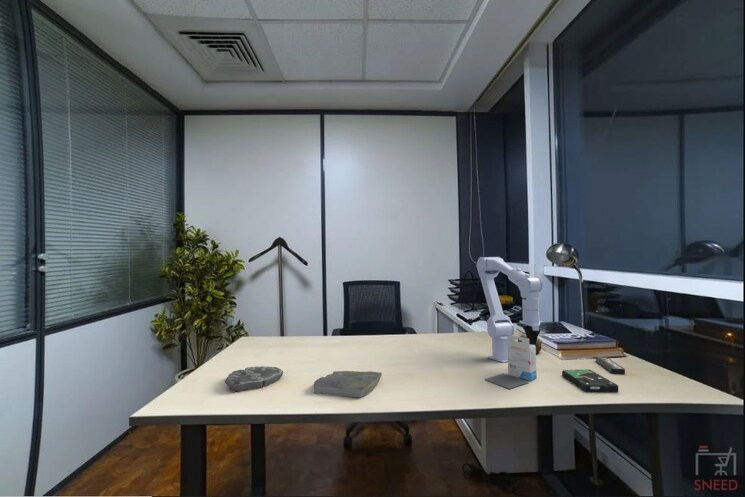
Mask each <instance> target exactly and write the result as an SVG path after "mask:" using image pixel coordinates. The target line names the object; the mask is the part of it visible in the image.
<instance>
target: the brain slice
mask: <svg viewBox="0 0 745 497" xmlns="http://www.w3.org/2000/svg"><path fill="white" fill-rule="evenodd" d="M283 374H284V371H283V369H281V368H279V367H276V366H263V365H262V366H258V365H257V366H250V367H245V368H244V369H238V370H234V371H232V372H231V373H229V374H228V375H227V377H226V378H225V380H224V382H225V384H226V386H227V387H229V388H230V389H231V391H233V392H245V391H252V390H257V389H261V388H265V387H268V386H270V385H272V384H274V383H276V382H278V381H280V379H281V378H282V376H283Z"/></svg>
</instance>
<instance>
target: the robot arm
mask: <svg viewBox="0 0 745 497" xmlns="http://www.w3.org/2000/svg"><path fill="white" fill-rule="evenodd" d="M475 266H476V269H477V274H478V276H479V278H480V281H481V282H480V283H481V286H482V288H483V293H484V296H485V300H486V303H487V307H488V311H489V313H490V314H489V318H487V320H486V326H487V328H486V329H487V334H488V336H490V338H491V345H492V346H491V349H492V350H491V351H492V352H491V353H492V354H491V355H489V356H487V358H488V359H491V360H494V361H497V362H501V363H503V364H504V363H508V348H507V343H508V337H507V336H508V335H511V336H514V334H515V326H514V324H513V323H512V321H511V318H510V316H508V315H506V314H505V313H504V311H503V306H502V303H501V300H500V297H499V294H498V290H497V286H496V284H495V278H496V277H498V275H499V273H500V272H501V273H503V274H504V275H506V276H507V278H508V280H509V281H510V282H512V283H513V284H515V285H516V286H517V287H518V290H519V291H520V297H521V298H522V300H521V301H522V320H519V324H523V326H522V329H523V331H524V334H526V337H527V338H529V344H531V345H536V342H537V338H539V335H540V332H541V331H542V329H541V327H540V325H541V321H540V320H541V317H540V292H541V291H542V290H543V282H542V280H541V278H540V277H538V276H530V274H529V273H525V272H524V271H522V269H521V267H514V268H513V267H512V266H510V265H509V264H508V263H506V262H505V261H504V259H503V258H501V257H500V256H488V257H487V256H485V257H483V256H480V257H479V258H478V259H477V263H476V265H475Z"/></svg>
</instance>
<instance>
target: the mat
mask: <svg viewBox="0 0 745 497" xmlns="http://www.w3.org/2000/svg"><path fill="white" fill-rule="evenodd" d="M484 381H487V382H489V383H491V384H495V385H497V386H500V387H502V388H505V389H506V390H513V389H516V388H519V387H522V386H523V385H526V384H529V381H528V380H525V379H522V378H518V377H514V376H511V375H508V374H505V373H500V374H496V375H493V376H490V377H487V378H485V379H484Z"/></svg>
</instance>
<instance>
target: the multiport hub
mask: <svg viewBox="0 0 745 497" xmlns="http://www.w3.org/2000/svg"><path fill="white" fill-rule="evenodd" d="M595 363H597V364H598V365H599V366H601V367H602V368H604V369H605V370H606V371H607V372H609V373H610V374H613V375H626V369H625V368H624V367H622V366H621V365H619V364H618V363H617V362H615V361H613V360H612V359H611V358H609V357H606V356H604V357H603V356H595Z"/></svg>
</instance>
